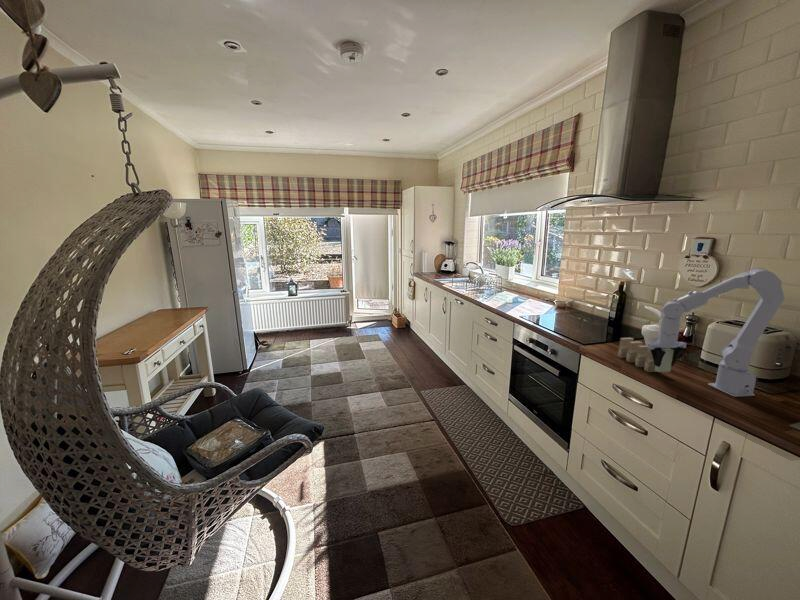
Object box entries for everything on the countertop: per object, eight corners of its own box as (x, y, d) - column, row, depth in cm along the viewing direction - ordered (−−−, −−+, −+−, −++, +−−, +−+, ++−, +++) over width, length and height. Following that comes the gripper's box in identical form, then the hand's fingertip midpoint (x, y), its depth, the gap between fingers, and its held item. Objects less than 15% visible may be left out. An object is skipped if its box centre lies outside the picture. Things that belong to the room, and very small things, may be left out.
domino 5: (670, 371, 131) (673, 350, 129) (658, 372, 131) (662, 350, 129) (666, 369, 133) (669, 348, 131) (654, 370, 133) (658, 349, 131)
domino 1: (631, 357, 151) (633, 338, 149) (620, 358, 151) (623, 339, 149) (628, 355, 153) (630, 337, 151) (617, 356, 152) (620, 337, 151)
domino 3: (649, 366, 141) (652, 346, 139) (638, 367, 141) (641, 347, 139) (645, 364, 143) (648, 344, 141) (634, 365, 143) (637, 345, 141)
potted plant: (674, 349, 160) (683, 298, 154) (659, 353, 156) (667, 301, 150) (647, 341, 171) (654, 293, 166) (632, 344, 167) (638, 296, 162)
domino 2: (639, 361, 146) (642, 342, 144) (629, 362, 146) (631, 342, 144) (636, 360, 148) (639, 341, 146) (626, 360, 148) (628, 341, 146)
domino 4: (658, 371, 137) (662, 350, 135) (647, 371, 136) (650, 351, 134) (655, 369, 138) (658, 349, 136) (644, 370, 138) (647, 349, 136)
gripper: (677, 328, 133) (671, 360, 136) (643, 330, 132) (638, 362, 135) (693, 334, 126) (687, 367, 129) (658, 335, 125) (652, 369, 128)
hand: (663, 365), depth 131 cm, fingers closed on domino 5, 5 cm apart
